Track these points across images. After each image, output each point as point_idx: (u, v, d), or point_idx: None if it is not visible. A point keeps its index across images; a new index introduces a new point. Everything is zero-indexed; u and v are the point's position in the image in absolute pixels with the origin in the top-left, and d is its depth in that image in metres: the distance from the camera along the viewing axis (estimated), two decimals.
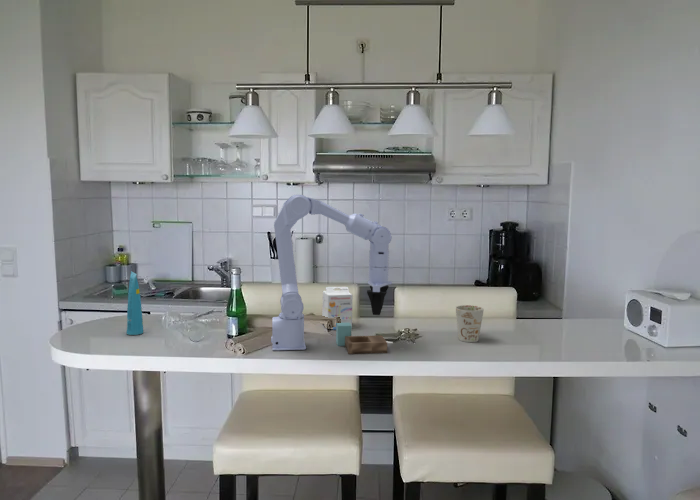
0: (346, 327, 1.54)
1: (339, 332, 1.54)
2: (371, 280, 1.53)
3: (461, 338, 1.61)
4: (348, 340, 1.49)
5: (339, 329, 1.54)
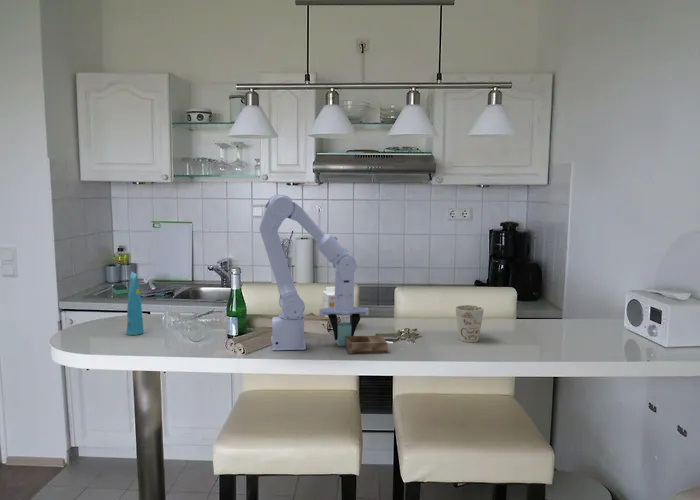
0: (346, 327, 1.54)
1: (339, 332, 1.54)
2: None
3: (461, 338, 1.61)
4: (348, 340, 1.49)
5: (339, 329, 1.54)
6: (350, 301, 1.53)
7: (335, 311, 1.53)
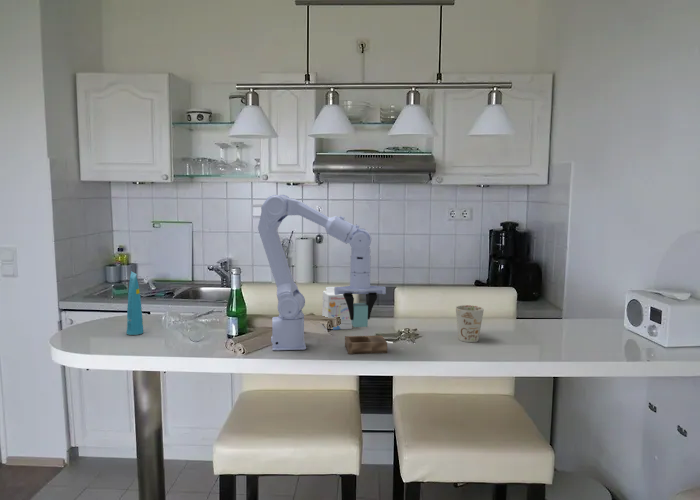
0: (362, 307, 1.48)
1: (355, 312, 1.48)
2: None
3: (461, 338, 1.61)
4: (348, 340, 1.49)
5: (355, 309, 1.48)
6: (367, 279, 1.47)
7: (351, 289, 1.47)
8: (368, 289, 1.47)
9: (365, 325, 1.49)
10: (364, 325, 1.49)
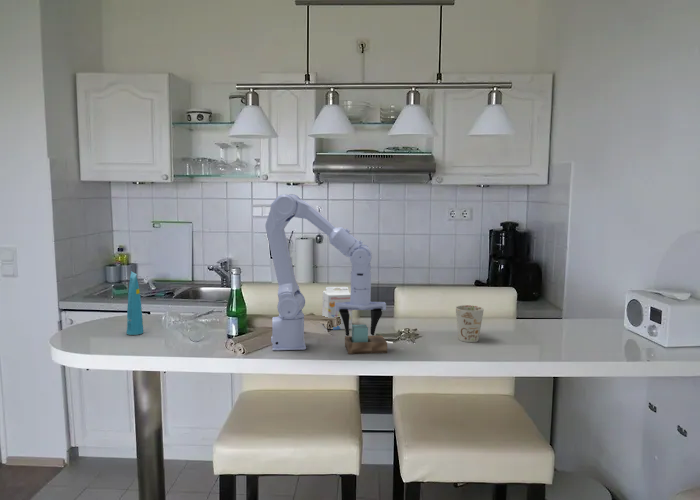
0: (362, 329, 1.48)
1: (355, 335, 1.48)
2: None
3: (461, 338, 1.61)
4: (348, 340, 1.49)
5: (355, 331, 1.48)
6: (367, 295, 1.47)
7: (351, 305, 1.47)
8: (368, 305, 1.47)
9: None
10: None
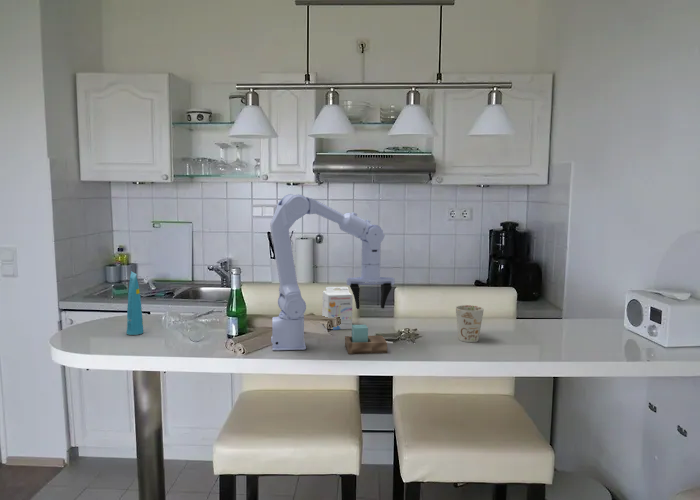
0: (362, 329, 1.48)
1: (355, 335, 1.48)
2: None
3: (461, 338, 1.61)
4: (348, 340, 1.49)
5: (355, 331, 1.48)
6: (377, 270, 1.57)
7: (362, 280, 1.57)
8: (378, 280, 1.57)
9: None
10: None
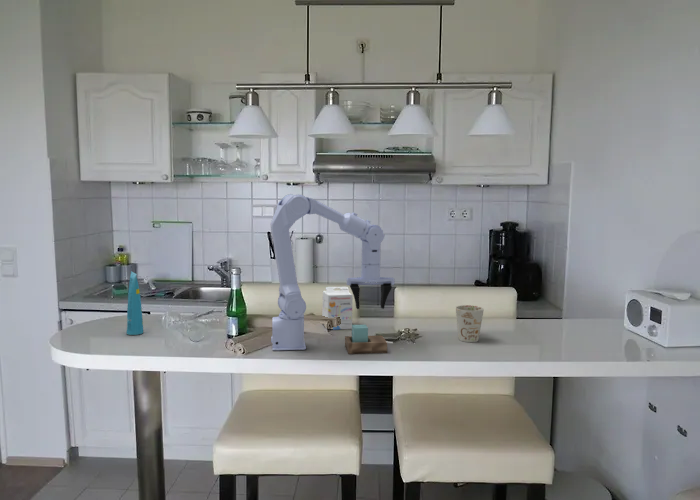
0: (362, 329, 1.48)
1: (355, 335, 1.48)
2: None
3: (461, 338, 1.61)
4: (348, 340, 1.49)
5: (355, 331, 1.48)
6: (377, 270, 1.57)
7: (362, 280, 1.57)
8: (378, 280, 1.57)
9: None
10: None
